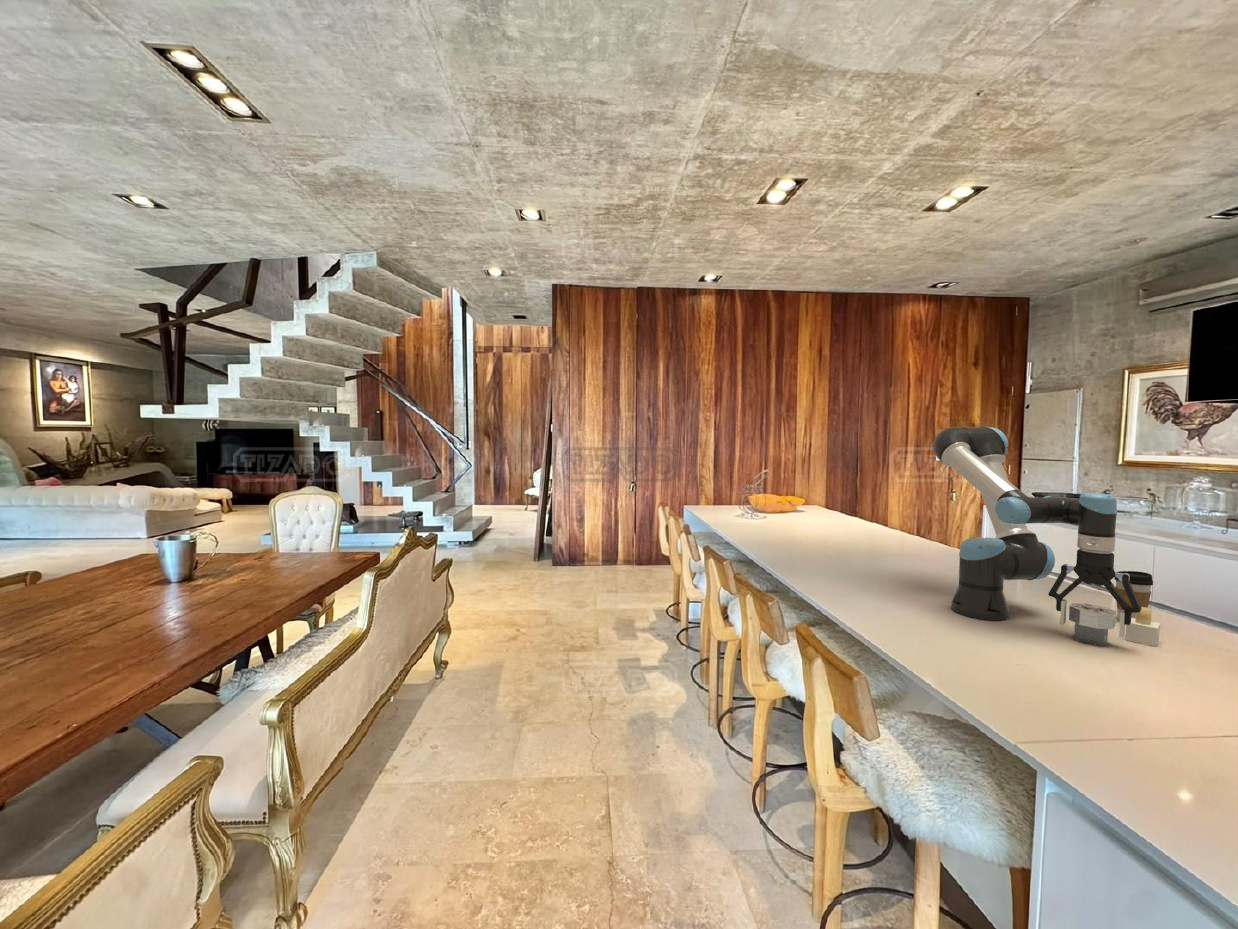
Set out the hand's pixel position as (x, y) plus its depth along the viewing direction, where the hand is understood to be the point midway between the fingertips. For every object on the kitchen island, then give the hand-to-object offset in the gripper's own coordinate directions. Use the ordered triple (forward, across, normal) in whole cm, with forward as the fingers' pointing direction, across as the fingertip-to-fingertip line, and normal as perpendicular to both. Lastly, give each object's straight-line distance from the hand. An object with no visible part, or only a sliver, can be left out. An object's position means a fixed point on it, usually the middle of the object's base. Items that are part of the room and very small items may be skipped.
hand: (1091, 629), depth 143 cm
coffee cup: (+3, +5, +29) cm, 30 cm away
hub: (+3, +9, +11) cm, 15 cm away
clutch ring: (-2, 0, 0) cm, 2 cm away
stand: (+3, 0, 0) cm, 3 cm away
